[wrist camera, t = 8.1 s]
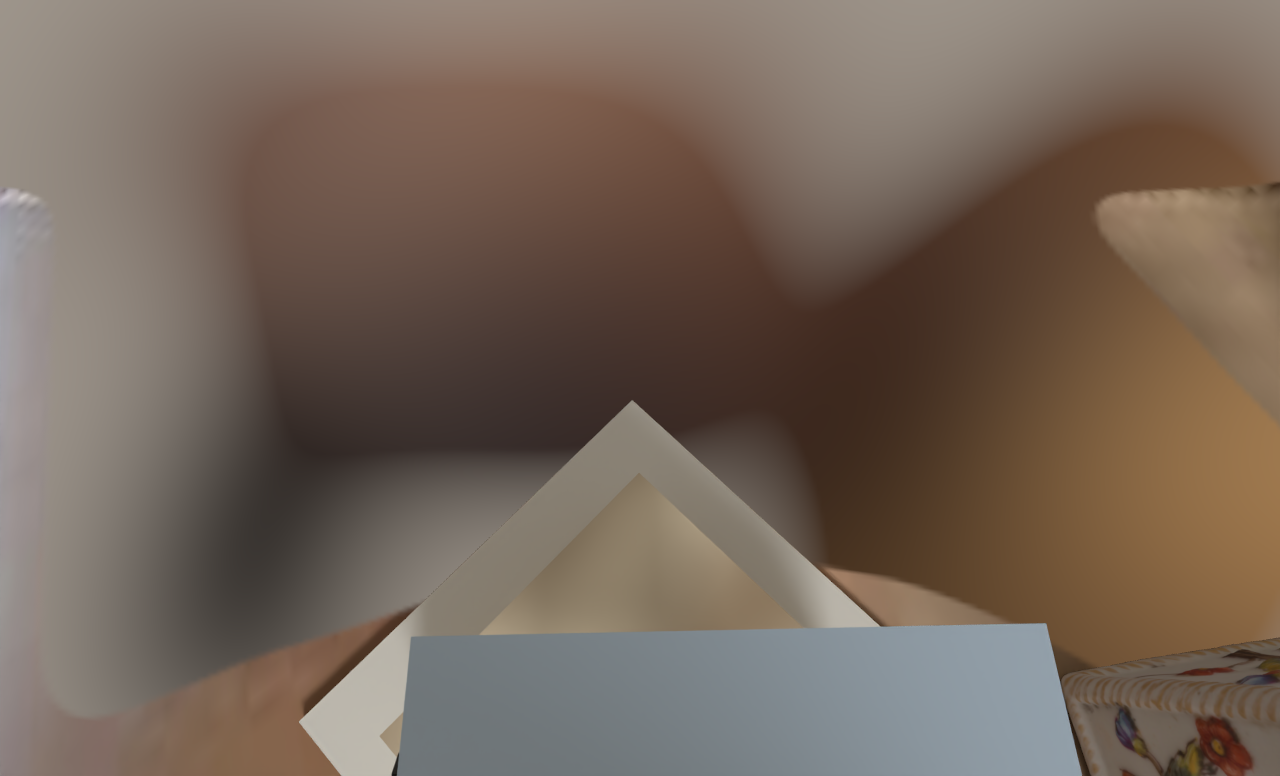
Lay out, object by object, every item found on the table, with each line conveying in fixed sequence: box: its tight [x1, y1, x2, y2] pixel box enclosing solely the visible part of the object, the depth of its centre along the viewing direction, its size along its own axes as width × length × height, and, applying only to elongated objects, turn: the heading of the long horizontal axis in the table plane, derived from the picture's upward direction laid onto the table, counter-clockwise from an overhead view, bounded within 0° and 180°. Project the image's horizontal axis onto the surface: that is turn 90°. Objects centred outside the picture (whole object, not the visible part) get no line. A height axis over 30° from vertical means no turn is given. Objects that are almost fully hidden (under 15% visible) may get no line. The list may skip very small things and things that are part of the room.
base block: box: [380, 473, 803, 757], centre depth 20 cm, size 10×10×5 cm
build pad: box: [299, 401, 880, 776], centre depth 23 cm, size 16×16×1 cm
